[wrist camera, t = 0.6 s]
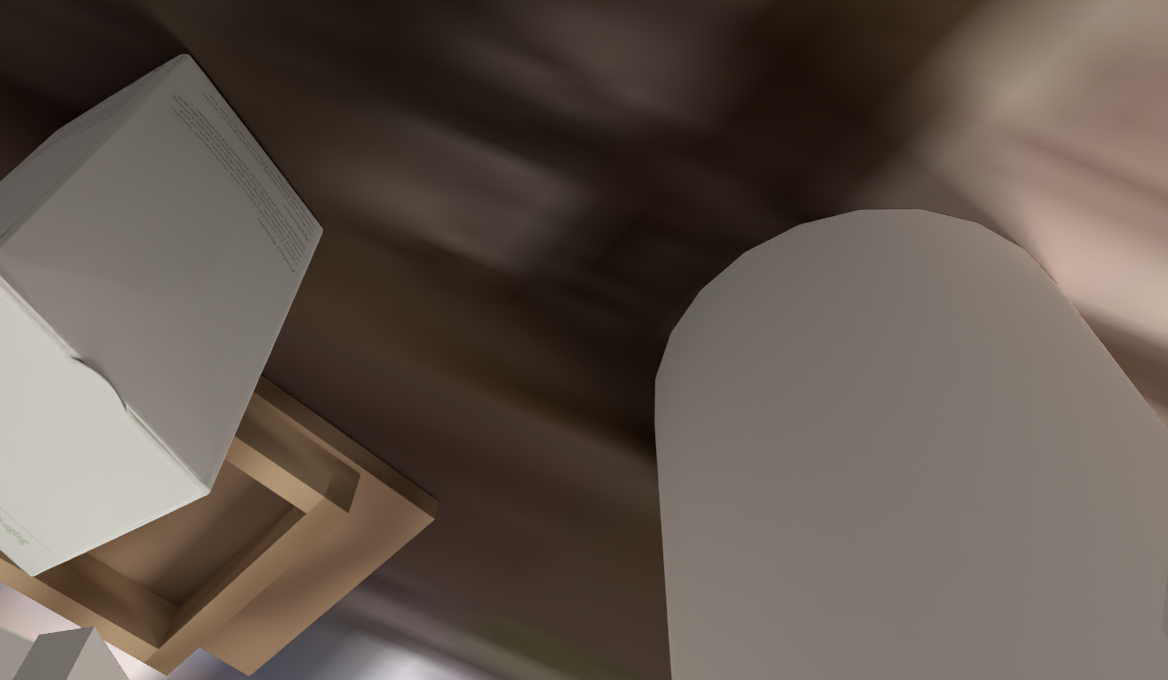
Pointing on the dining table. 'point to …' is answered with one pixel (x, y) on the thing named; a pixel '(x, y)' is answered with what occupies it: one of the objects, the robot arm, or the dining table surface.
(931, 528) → the cylinder
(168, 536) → the wooden tray
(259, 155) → the skincare box
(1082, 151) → the dining table surface
